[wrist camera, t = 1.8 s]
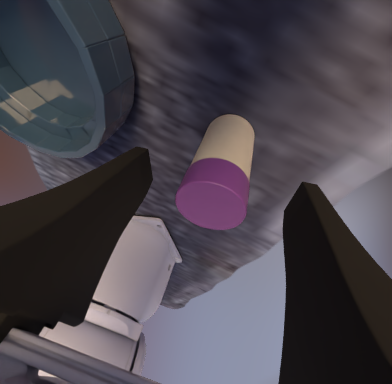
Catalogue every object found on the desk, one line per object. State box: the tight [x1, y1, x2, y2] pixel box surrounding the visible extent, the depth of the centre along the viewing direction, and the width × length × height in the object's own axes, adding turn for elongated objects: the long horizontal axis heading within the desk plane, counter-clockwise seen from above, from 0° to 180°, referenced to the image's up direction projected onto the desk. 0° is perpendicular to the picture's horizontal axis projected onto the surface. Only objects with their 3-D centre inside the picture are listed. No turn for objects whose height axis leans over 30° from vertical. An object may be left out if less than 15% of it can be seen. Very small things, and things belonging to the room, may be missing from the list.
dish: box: [0, 0, 135, 158], centre depth 10 cm, size 10×10×4 cm
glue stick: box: [175, 114, 255, 230], centre depth 10 cm, size 3×3×6 cm
